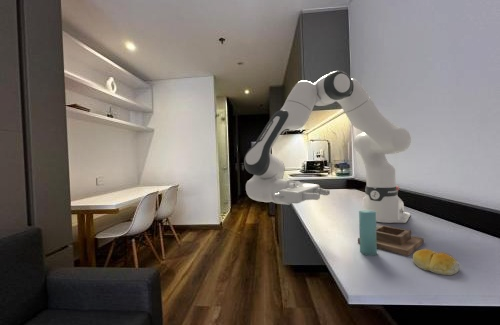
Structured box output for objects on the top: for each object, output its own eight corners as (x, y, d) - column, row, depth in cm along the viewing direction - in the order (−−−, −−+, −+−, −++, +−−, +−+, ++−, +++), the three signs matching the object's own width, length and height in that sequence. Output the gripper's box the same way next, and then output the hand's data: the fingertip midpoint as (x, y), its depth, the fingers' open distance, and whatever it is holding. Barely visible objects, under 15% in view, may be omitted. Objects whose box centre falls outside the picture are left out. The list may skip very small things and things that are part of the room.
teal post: (364, 248, 72) (363, 209, 71) (379, 252, 68) (378, 211, 68) (357, 252, 69) (356, 211, 69) (372, 256, 66) (371, 214, 65)
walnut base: (377, 232, 85) (376, 221, 85) (423, 243, 74) (423, 230, 74) (358, 242, 76) (357, 230, 76) (407, 256, 65) (407, 241, 65)
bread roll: (421, 257, 65) (420, 242, 65) (463, 269, 57) (462, 253, 57) (405, 265, 61) (405, 249, 61) (448, 280, 53) (448, 262, 53)
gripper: (270, 186, 75) (311, 188, 67) (297, 180, 92) (333, 181, 83) (270, 205, 75) (312, 210, 67) (297, 196, 92) (333, 199, 84)
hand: (324, 194), depth 75 cm, fingers open, 8 cm apart
